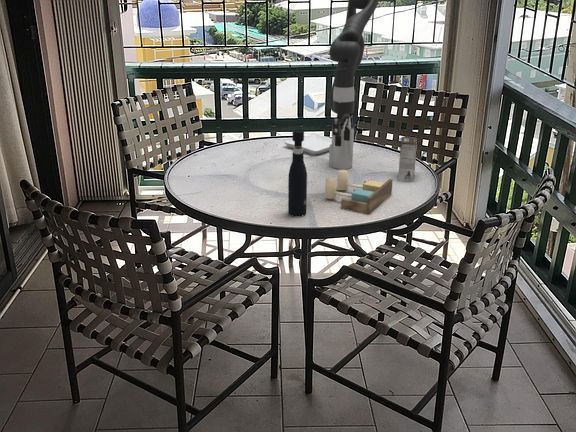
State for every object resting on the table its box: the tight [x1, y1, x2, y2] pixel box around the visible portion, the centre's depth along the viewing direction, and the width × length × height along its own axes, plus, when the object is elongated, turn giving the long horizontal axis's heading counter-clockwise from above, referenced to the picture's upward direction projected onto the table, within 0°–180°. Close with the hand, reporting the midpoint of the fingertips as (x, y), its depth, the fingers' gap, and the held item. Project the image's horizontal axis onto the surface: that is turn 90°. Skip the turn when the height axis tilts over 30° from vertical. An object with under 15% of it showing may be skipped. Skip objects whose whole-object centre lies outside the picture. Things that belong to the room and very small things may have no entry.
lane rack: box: [340, 178, 393, 215], centre depth 231 cm, size 11×22×6 cm, turn 151°
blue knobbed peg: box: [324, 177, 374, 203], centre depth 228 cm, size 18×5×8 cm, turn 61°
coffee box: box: [397, 136, 418, 182], centre depth 252 cm, size 9×6×16 cm
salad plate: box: [283, 133, 332, 155], centre depth 292 cm, size 21×21×3 cm
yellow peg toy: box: [336, 169, 385, 192], centre depth 237 cm, size 18×5×8 cm, turn 61°
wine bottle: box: [287, 129, 308, 217], centre depth 215 cm, size 6×6×30 cm
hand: (342, 143), depth 228 cm, fingers open, 8 cm apart
